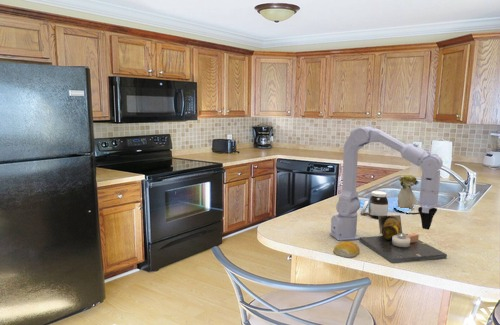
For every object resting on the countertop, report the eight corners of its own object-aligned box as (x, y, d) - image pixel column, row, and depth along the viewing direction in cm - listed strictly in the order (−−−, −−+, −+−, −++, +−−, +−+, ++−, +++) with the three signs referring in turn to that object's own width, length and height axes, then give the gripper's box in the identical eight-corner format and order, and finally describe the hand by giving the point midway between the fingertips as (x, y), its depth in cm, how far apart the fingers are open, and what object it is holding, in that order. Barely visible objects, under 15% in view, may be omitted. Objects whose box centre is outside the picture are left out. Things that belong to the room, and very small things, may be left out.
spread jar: (389, 219, 172) (391, 195, 170) (364, 219, 172) (366, 194, 171) (380, 212, 184) (382, 189, 182) (357, 212, 184) (359, 189, 182)
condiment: (402, 233, 148) (399, 242, 137) (380, 233, 152) (375, 242, 141) (400, 215, 148) (397, 223, 137) (378, 215, 151) (373, 223, 141)
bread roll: (362, 252, 132) (363, 241, 132) (352, 260, 125) (353, 248, 125) (340, 246, 137) (340, 236, 137) (329, 254, 130) (330, 242, 130)
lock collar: (402, 248, 131) (403, 241, 131) (388, 243, 136) (388, 236, 136) (423, 242, 137) (424, 236, 137) (408, 237, 142) (409, 231, 142)
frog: (393, 212, 185) (396, 176, 182) (393, 206, 197) (396, 172, 194) (420, 215, 181) (423, 178, 178) (418, 209, 193) (421, 174, 190)
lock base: (392, 263, 123) (393, 246, 122) (359, 241, 143) (360, 226, 142) (446, 258, 128) (448, 242, 127) (407, 237, 148) (408, 224, 147)
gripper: (440, 195, 119) (436, 236, 121) (444, 188, 131) (440, 225, 133) (416, 192, 123) (413, 232, 125) (422, 185, 135) (419, 221, 137)
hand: (425, 228), depth 129 cm, fingers closed
